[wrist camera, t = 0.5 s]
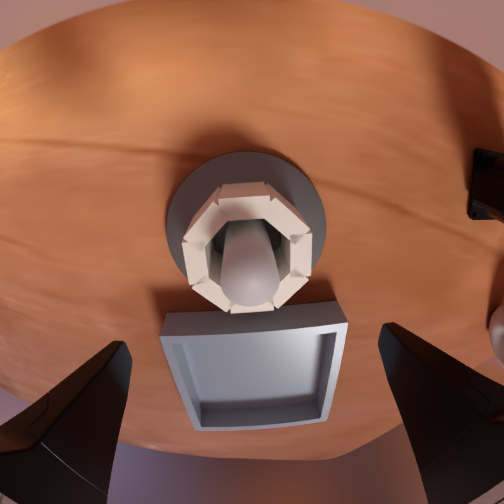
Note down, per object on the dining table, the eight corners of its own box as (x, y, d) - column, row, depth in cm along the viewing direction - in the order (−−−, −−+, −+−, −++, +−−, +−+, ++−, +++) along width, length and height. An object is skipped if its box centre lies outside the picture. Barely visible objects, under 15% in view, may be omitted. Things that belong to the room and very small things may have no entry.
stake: (324, 148, 18) (368, 160, 11) (320, 291, 22) (347, 352, 16) (158, 160, 17) (116, 178, 11) (182, 301, 22) (164, 365, 16)
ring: (297, 180, 18) (312, 193, 14) (297, 294, 21) (307, 327, 18) (188, 187, 18) (176, 203, 14) (205, 300, 21) (199, 334, 18)
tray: (337, 300, 23) (348, 322, 20) (321, 400, 28) (326, 420, 26) (166, 312, 22) (159, 336, 20) (197, 409, 28) (195, 430, 25)
